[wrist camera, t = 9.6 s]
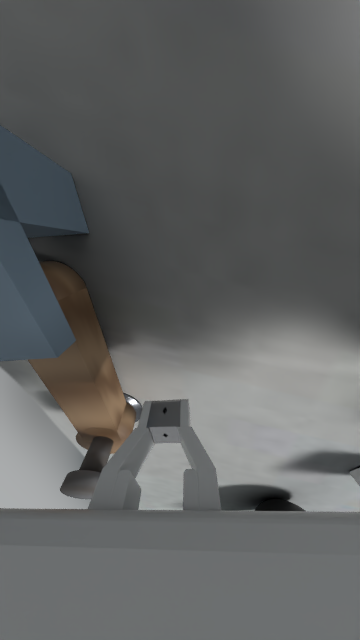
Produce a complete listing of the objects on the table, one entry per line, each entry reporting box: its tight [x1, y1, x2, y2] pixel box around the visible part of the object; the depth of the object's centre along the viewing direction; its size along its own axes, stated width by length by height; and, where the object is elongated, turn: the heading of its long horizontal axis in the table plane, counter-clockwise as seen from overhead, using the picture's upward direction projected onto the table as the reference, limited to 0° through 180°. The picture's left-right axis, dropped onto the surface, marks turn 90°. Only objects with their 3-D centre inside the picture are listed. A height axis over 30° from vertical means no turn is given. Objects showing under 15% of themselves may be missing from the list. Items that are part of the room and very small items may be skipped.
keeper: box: [0, 125, 89, 361], centre depth 8 cm, size 8×7×6 cm
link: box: [28, 261, 136, 499], centre depth 12 cm, size 21×6×7 cm, turn 3°
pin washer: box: [123, 393, 142, 422], centre depth 19 cm, size 7×7×1 cm
